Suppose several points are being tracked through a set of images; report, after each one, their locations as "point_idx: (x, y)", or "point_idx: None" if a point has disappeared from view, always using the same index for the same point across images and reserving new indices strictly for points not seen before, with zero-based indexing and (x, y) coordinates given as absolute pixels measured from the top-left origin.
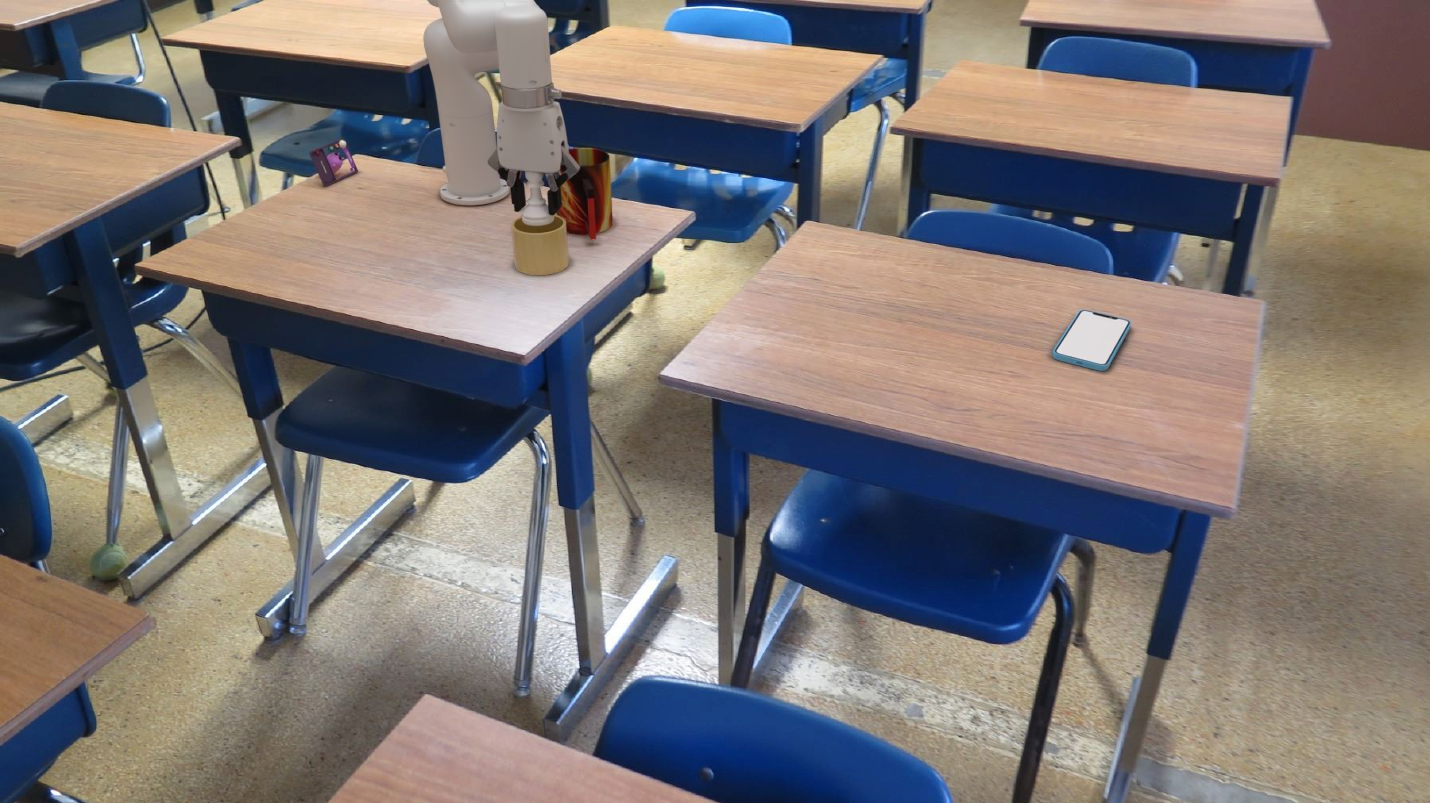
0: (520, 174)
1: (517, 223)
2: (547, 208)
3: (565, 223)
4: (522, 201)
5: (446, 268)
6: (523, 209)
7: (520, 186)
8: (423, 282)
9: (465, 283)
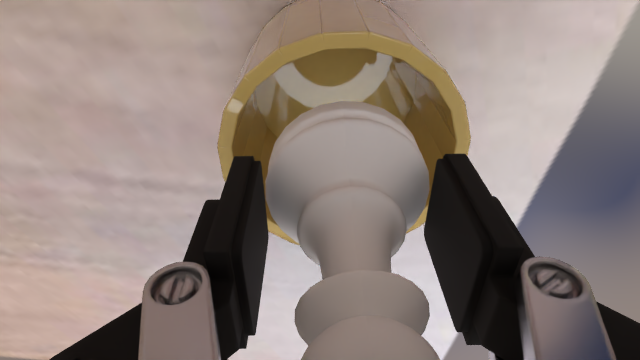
0: (216, 331)
1: (234, 142)
2: (410, 214)
3: (467, 130)
4: (260, 217)
5: (80, 178)
6: (281, 222)
7: (248, 296)
8: (90, 251)
9: (188, 235)
